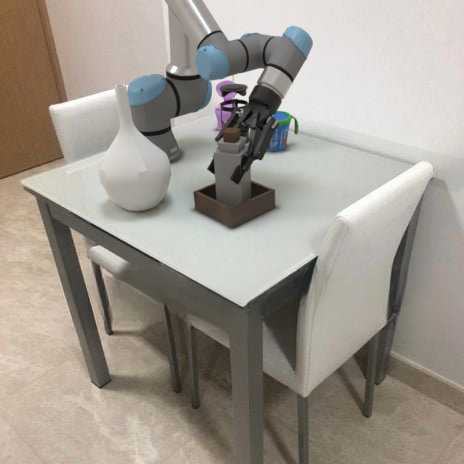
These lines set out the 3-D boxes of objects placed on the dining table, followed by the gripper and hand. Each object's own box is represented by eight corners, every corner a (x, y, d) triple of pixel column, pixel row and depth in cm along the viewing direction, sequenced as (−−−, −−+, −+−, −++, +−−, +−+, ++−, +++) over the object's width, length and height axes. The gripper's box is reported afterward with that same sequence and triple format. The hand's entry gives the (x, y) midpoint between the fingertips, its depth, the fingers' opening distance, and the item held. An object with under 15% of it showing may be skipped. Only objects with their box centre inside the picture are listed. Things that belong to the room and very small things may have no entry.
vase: (183, 190, 140) (170, 75, 122) (161, 221, 126) (142, 97, 108) (122, 186, 143) (100, 75, 125) (94, 217, 129) (65, 96, 111)
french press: (249, 145, 164) (247, 70, 150) (221, 146, 165) (216, 71, 151) (250, 133, 174) (248, 61, 160) (222, 134, 174) (218, 62, 160)
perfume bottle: (216, 204, 127) (212, 133, 116) (227, 193, 132) (223, 124, 121) (241, 208, 125) (239, 136, 114) (251, 196, 130) (250, 126, 118)
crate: (195, 209, 130) (193, 191, 127) (236, 191, 138) (235, 173, 135) (232, 228, 121) (231, 209, 118) (275, 207, 129) (275, 189, 126)
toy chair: (213, 130, 178) (210, 85, 169) (220, 122, 185) (217, 78, 175) (235, 131, 176) (233, 86, 167) (242, 123, 183) (240, 79, 173)
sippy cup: (253, 156, 157) (252, 123, 151) (247, 144, 165) (246, 113, 159) (302, 151, 158) (303, 118, 152) (293, 139, 167) (294, 108, 160)
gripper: (308, 109, 117) (260, 196, 119) (248, 93, 129) (204, 172, 131) (294, 91, 111) (242, 182, 113) (231, 76, 123) (186, 158, 125)
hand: (222, 176), depth 122 cm, fingers closed on perfume bottle, 8 cm apart
